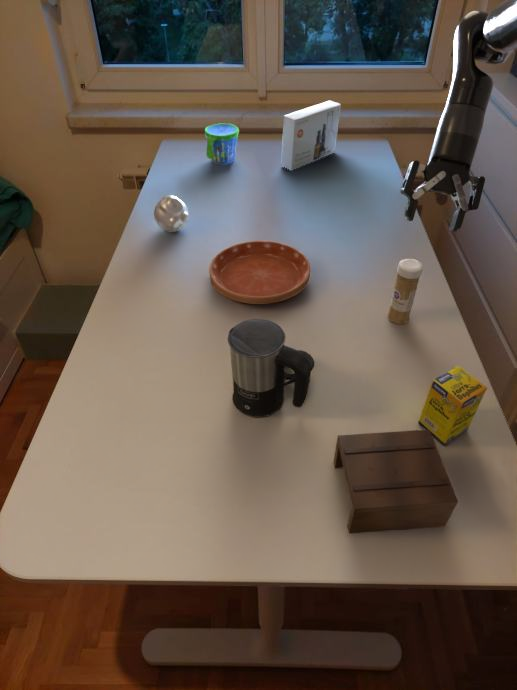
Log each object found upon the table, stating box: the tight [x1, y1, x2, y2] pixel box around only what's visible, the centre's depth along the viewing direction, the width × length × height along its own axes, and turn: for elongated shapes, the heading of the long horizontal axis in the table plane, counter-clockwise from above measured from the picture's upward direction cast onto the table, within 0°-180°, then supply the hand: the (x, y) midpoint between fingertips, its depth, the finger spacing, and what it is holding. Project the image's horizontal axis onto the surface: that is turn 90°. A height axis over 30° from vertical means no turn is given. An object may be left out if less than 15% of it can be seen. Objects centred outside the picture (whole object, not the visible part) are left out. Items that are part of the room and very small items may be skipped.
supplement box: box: [417, 365, 488, 447], centre depth 81 cm, size 6×6×11 cm
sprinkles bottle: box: [387, 258, 424, 325], centre depth 101 cm, size 5×5×13 cm
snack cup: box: [204, 122, 240, 165], centre depth 161 cm, size 16×10×10 cm
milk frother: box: [227, 318, 315, 418], centre depth 87 cm, size 14×16×15 cm
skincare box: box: [280, 99, 342, 171], centre depth 159 cm, size 21×5×16 cm, turn 132°
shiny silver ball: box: [153, 195, 190, 233], centre depth 129 cm, size 9×10×10 cm
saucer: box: [208, 240, 311, 305], centre depth 115 cm, size 23×23×4 cm
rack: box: [333, 429, 459, 535], centre depth 73 cm, size 14×12×7 cm
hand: (431, 226), depth 94 cm, fingers open, 8 cm apart
